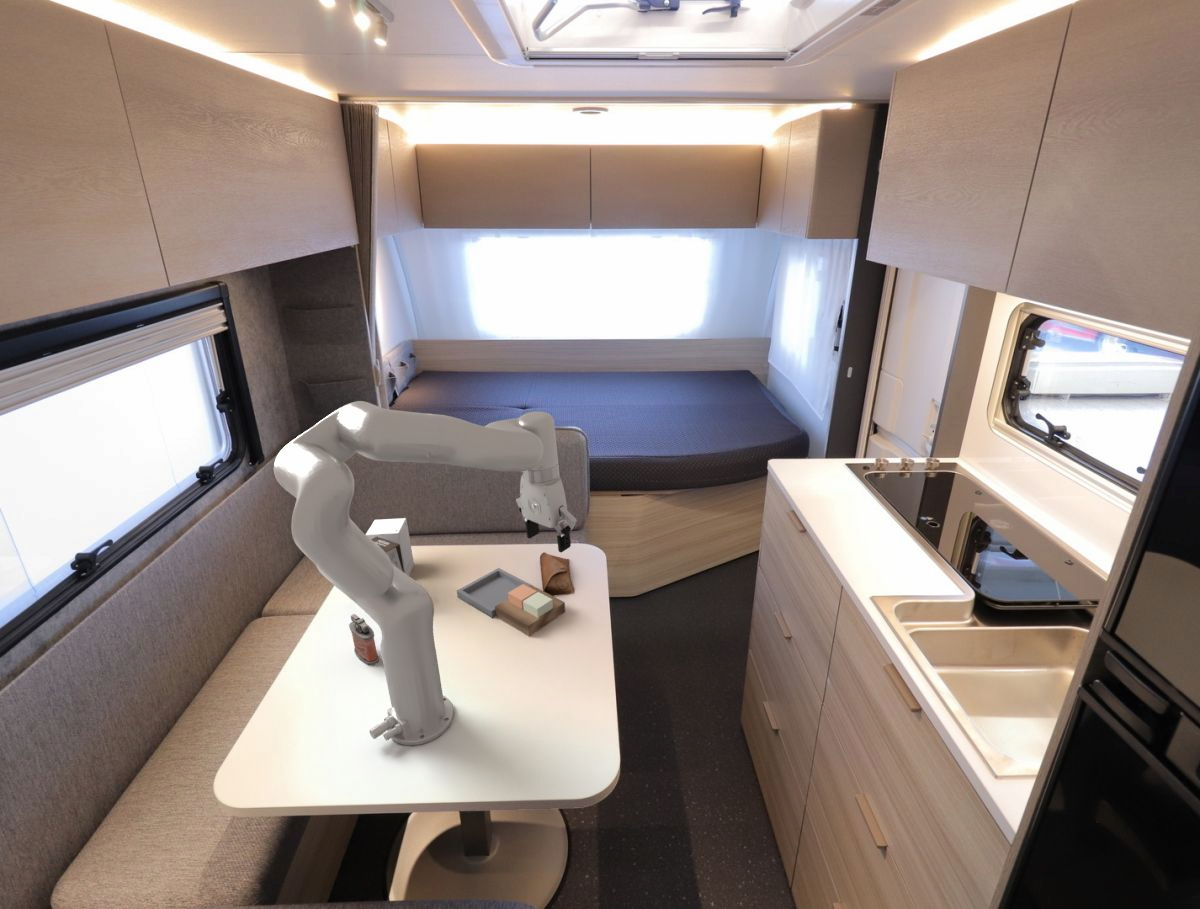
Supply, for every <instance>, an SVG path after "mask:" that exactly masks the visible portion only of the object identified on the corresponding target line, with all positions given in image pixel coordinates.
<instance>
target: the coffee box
mask: <svg viewBox="0 0 1200 909" xmlns="http://www.w3.org/2000/svg"><path fill="white" fill-rule="evenodd" d="M371 540H372V541H373V542H375V543H376V544H377V545H379V546H380V547H381V548H382V549H383V550H384V551H385V553H386V554H387V555H388V557H389V559H390V561H391V563H392V564H393V565H394V566H396V567H397V568H398V569H399V570H401V571H402V572H404V567H403V561H402V555H401V549H400V544H397V543H394V542H391V541H389V540H386V539H383V538H380V537H375V538H373V539H371Z"/></svg>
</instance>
